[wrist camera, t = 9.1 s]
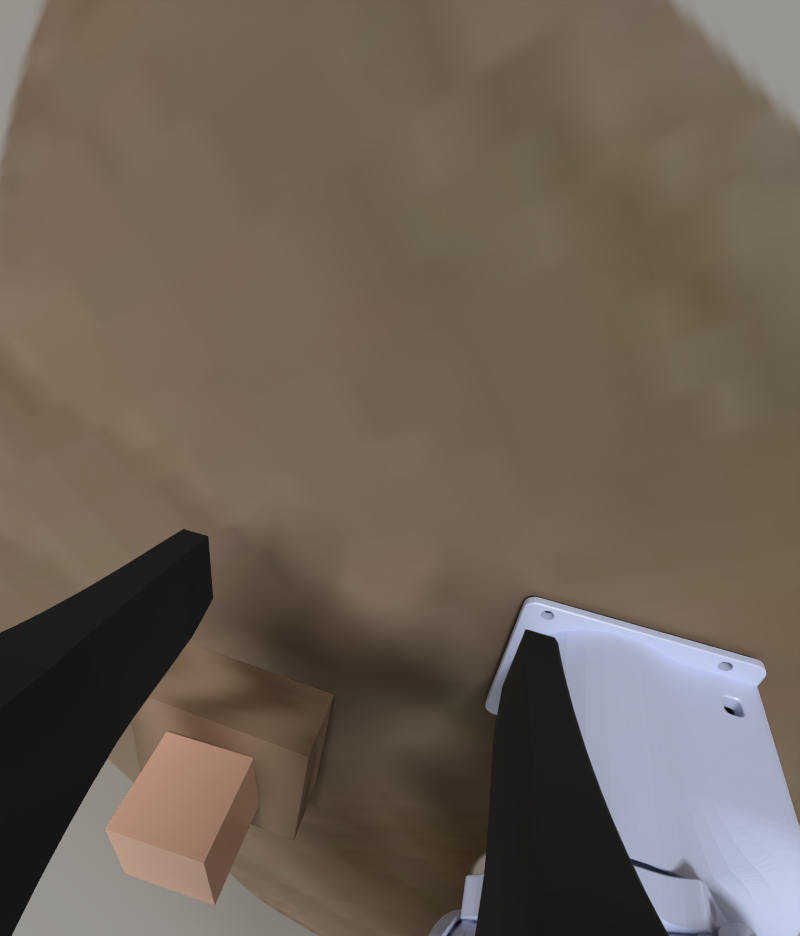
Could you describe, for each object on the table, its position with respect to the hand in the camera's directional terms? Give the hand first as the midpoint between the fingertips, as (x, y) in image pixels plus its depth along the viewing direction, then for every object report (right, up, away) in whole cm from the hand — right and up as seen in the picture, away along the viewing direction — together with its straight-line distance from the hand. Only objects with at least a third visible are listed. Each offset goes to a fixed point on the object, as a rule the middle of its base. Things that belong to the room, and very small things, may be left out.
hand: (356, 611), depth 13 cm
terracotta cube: (-9, -13, +19) cm, 25 cm away
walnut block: (-8, -11, +22) cm, 27 cm away
